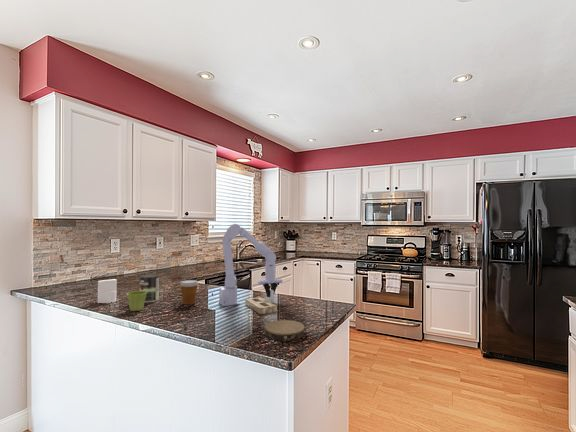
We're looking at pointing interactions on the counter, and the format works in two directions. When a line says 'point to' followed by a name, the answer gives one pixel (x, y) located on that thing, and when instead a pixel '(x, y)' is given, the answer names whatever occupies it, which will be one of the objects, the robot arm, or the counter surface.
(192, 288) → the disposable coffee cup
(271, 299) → the steel bracket tab
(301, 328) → the round tan disc
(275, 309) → the slotted wooden frame
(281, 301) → the counter surface
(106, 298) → the white rectangular block
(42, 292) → the counter surface
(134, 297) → the plant pot
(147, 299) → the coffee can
